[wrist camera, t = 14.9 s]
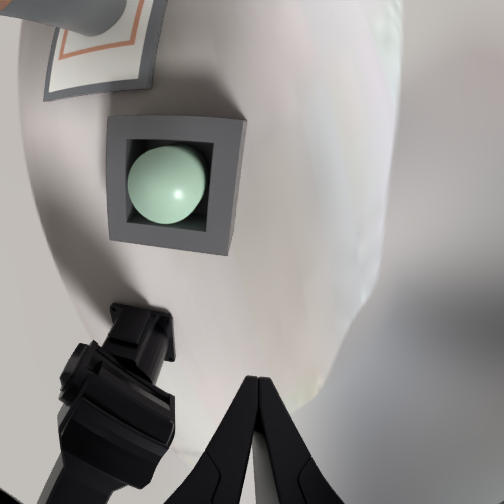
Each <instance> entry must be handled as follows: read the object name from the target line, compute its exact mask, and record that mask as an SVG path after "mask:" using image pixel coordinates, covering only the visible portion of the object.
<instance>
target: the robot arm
mask: <svg viewBox="0 0 504 504" xmlns="http://www.w3.org/2000/svg"><path fill="white" fill-rule="evenodd" d="M110 313H111V317H112V321H113V326H112V328H111V330H110V331H109V333H108V336H107V338H106V340H105V341H104V343H103V345H102V347H100V346H99V345H98V343H97V342H96V341H94V340H93V341H92V342H91V343H90V344H89V345H87V344H82V343H79V345H78V346H77V347H76V349H75V351H74V352H73V354H72V355H71V357H70V359H69V360H68V362H67V364H66V366H65V368H64V370H63V372H62V374H61V376H60V380H61V385H62V386H61V389H60V391H61V393H60V395H59V400H60V401H61V402H63V403H64V404H63V406H62V407H61V409H60V411H59V413H58V417H57V419H58V431H59V440H60V448H61V453H60V455H59V457H58V459H57V461H56V463H55V465H54V468H53V470H52V472H51V474H50V476H49V478H48V480H47V482H46V484H45V486H44V489H43V491H42V493H41V496H40V498H39V500H38V502H37V504H107V502H108V500H109V498H110V496H111V495H112V493H113V492H114V491H116V490H118V489H121V488H123V487H125V486H127V485H129V486H132V487H135V488H137V489H142V488H144V487H145V486H146V485H148V484H149V483H150V482H151V479H152V477H153V474H154V471H155V469H156V467H157V465H158V463H159V461H160V460H161V458H162V457H163V455H164V454H165V453H166V452H167V450H168V449H169V447H170V445H171V443H172V441H173V438H174V435H175V396H173V395H171V394H170V393H169V394H168V393H166V392H165V391H163V390H162V389H160V388H158V387H157V386H155V385H156V382H157V379H158V376H159V373H160V370H161V367H162V364H163V362H164V361H169V362H174V361H175V358H176V354H175V342H174V329H173V317H172V316H171V315H170V314H167V313H161V312H156V311H151V310H146V309H141V308H136V307H131V306H126V305H121V304H117V303H112V304H111V306H110ZM166 318H167V319H168V320H167V319H166ZM251 445H252V448H253V465H254V480H255V495H256V504H345V503H344V502H343V501H342V500H341V499H340V497H339V496H338V495H337V494H336V492H335V491H334V490H333V489H332V487H331V486H330V485H329V483H328V482H327V481H326V479H325V478H324V476H323V475H322V473H321V472H320V470H319V468H318V466H317V465H316V463H315V461H314V460H313V458H312V457H311V454H310V452H309V451H308V449H307V447H306V445H305V443H304V441H303V439H302V438H301V436H300V434H299V432H298V430H297V428H296V426H295V424H294V423H293V421H292V419H291V417H290V415H289V413H288V411H287V409H286V407H285V405H284V403H283V401H282V399H281V398H280V396H279V394H278V392H277V390H276V388H275V386H274V384H273V382H272V380H271V378H269V377H257V376H249V375H247V376H246V377H245V379H244V380H243V382H242V384H241V386H240V388H239V390H238V392H237V394H236V396H235V397H234V399H233V401H232V403H231V405H230V407H229V408H228V410H227V412H226V414H225V416H224V418H223V419H222V421H221V423H220V425H219V426H218V428H217V430H216V432H215V434H214V435H213V437H212V439H211V441H210V442H209V444H208V446H207V447H206V449H205V452H203V454H202V456H201V457H200V459H199V461H198V462H197V464H196V465H195V467H194V468H193V470H192V471H191V473H190V474H189V475H188V476H187V478H186V479H185V480H184V482H183V483H182V484H181V485H180V486H179V487H178V488H177V489H176V491H175V492H174V493H173V494H172V495H171V496H170V497H169V498H168V499H167V500H166V502H164V504H239V502H240V497H241V493H242V488H243V483H244V479H245V474H246V470H247V465H248V460H249V455H250V449H251ZM0 504H23V503H21V502H20V501H19V500H17V499H16V498H15V497H13V496H12V495H10V494H9V493H7V492H6V491H4V490H3V489H1V488H0ZM499 504H504V501H503V502H501V503H499Z"/></svg>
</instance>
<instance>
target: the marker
mask: <svg viewBox="0 0 504 504" xmlns="http://www.w3.org/2000/svg"><path fill="white" fill-rule="evenodd" d="M126 2H127V1H126V0H0V15H3V16H9V17H15V18H20V19H25V20H30V21H35V22H39V23H43V24H47V25H51V26H55V27H58V28H62V29H65V30H69V31H72V32H75V33H78V34H81V35H84V36H88V37H93V36H97V35H100V34H102V33H104V32H106V31H107V30H109V29H110V28H111V27H112V26H114V25H115V24H116V23H117V21H118V20H119V19H120V18H121V16H122V14H123V13H124V10H125V8H126Z"/></svg>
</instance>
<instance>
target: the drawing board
mask: <svg viewBox="0 0 504 504" xmlns="http://www.w3.org/2000/svg"><path fill="white" fill-rule="evenodd" d="M126 1H127V2H126V8H125V10H124V13H123V14H122V16H121V18H120V19H119V20H118V21H117V23H116V24H115V25H114V26H112V27H111V28H110V29H109V30H107V31H106V32H104V33H102V34H100V35H97V36H93V37H88V36H84V35H81V34H78V33H75V32H72V31H69V30H65V29H62V28H58V27H56V29H55V33H54V37H53V41H52V46H51V51H50V56H49V62H48V68H47V74H46V81H45V90H44V99H43V102H47V101H54V100H59V99H64V98H69V97H75V96H81V95H88V94H95V93H103V92H113V91H124V90H138V89H151V85H152V78H153V71H154V64H155V58H156V52H157V47H158V41H159V36H160V31H161V26H162V22H163V17H164V13H165V9H166V5H167V1H168V0H126Z"/></svg>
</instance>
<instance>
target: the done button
mask: <svg viewBox="0 0 504 504" xmlns="http://www.w3.org/2000/svg"><path fill="white" fill-rule="evenodd" d="M209 184H210V169H209V165H208V162H207V161H206V159H205V157H204V156H203V155H202V153H201V152H200V151H198V150H197V149H196V148H194V147H192V146H190V145H187V144H183V143H174V144H169V145H166V146H162V147H159V148H155V149H152V150H149V151H147V152H145V153H144V154H142V155H141V156H140V157H139V158H138V159H137V160H136V161H135V163H134V164H133V166H132V168H131V170H130V173H129V177H128V192H129V196H130V199H131V201H132V203H133V205H134V207H135V208H136V209H137V210H138V212H139V213H140V214H142V215H143V216H144V217H146V218H147V219H149V220H151V221H153V222H156V223H161V224H170V223H175V222H178V221H180V220H182V219H184V218H186V217H187V216H188V215H189V214H190V213H191V212H192V211H193V210H194V208H195V207H196V206H197V204H198V203H199V202H200V200H201V199H202V198H203V196H204V195H205V193H206V192H207V190H208V187H209Z"/></svg>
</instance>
